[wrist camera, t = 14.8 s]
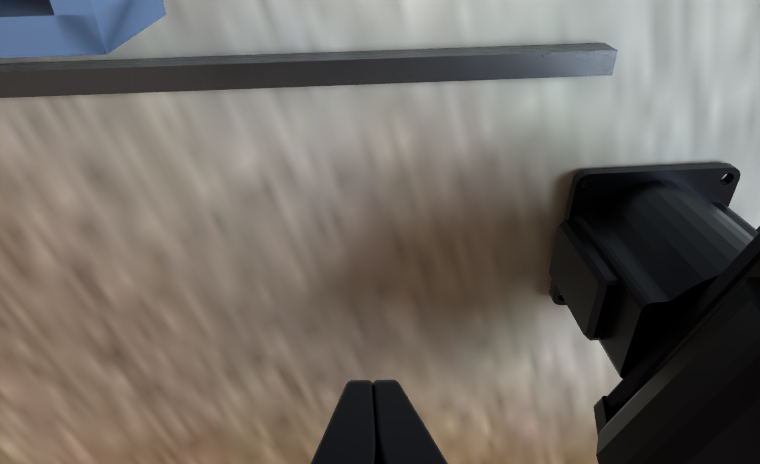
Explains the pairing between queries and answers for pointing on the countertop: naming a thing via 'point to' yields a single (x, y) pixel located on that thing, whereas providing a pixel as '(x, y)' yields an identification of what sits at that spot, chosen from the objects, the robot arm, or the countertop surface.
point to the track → (304, 69)
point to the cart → (72, 25)
